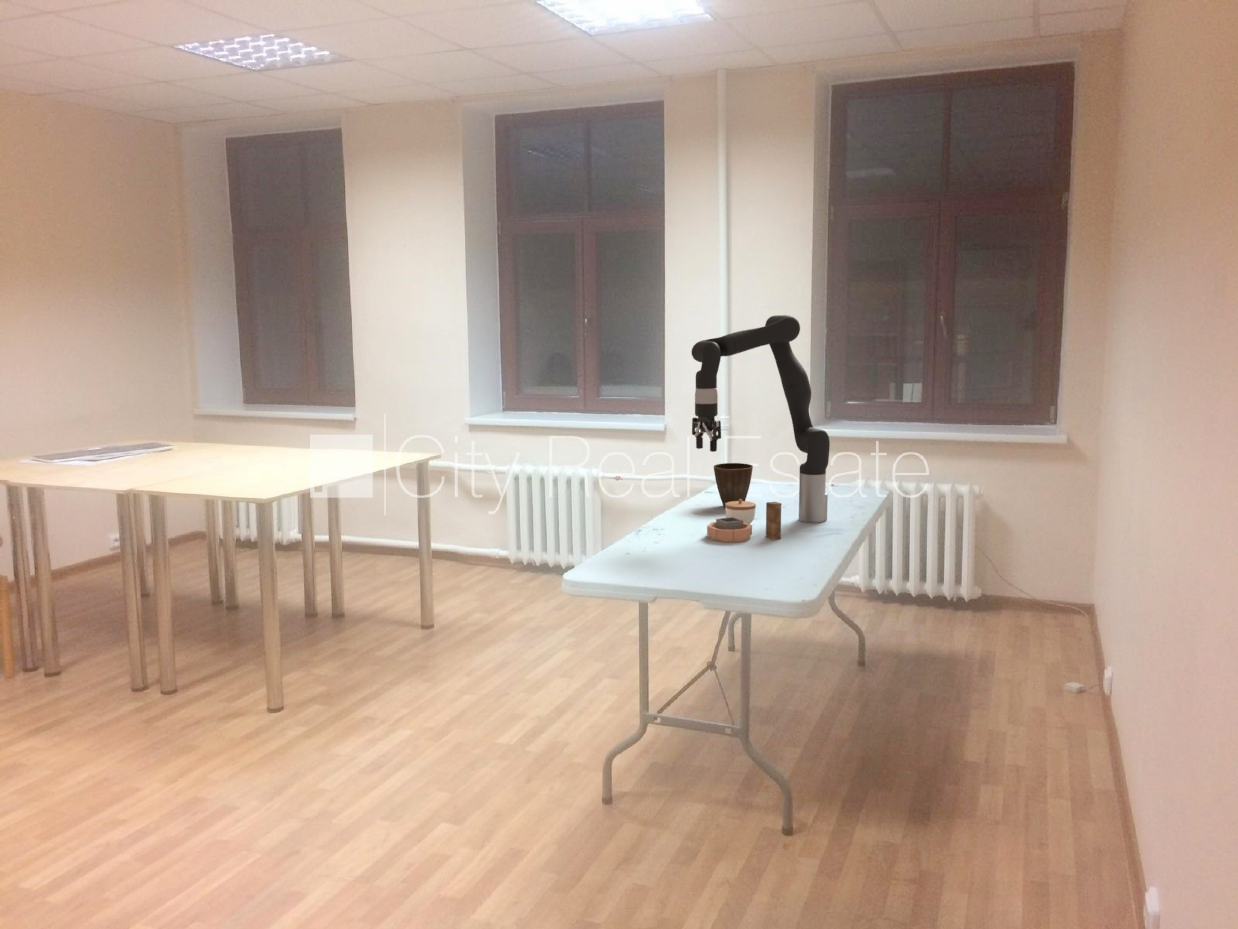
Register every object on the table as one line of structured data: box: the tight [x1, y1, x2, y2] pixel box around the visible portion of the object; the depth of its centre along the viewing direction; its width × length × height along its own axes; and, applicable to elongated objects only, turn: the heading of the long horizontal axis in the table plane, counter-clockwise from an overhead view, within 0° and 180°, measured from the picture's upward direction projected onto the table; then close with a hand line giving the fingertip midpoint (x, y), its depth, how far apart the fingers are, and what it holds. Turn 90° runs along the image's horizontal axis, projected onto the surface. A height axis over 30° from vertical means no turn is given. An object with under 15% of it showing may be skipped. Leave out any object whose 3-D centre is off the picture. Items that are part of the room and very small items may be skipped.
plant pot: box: [713, 462, 754, 508], centre depth 373 cm, size 15×15×16 cm
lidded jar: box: [724, 499, 757, 525], centre depth 341 cm, size 11×11×9 cm
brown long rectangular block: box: [765, 501, 782, 541], centre depth 321 cm, size 4×4×12 cm
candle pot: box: [706, 517, 753, 543], centre depth 323 cm, size 14×14×6 cm
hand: (706, 449), depth 325 cm, fingers open, 8 cm apart
